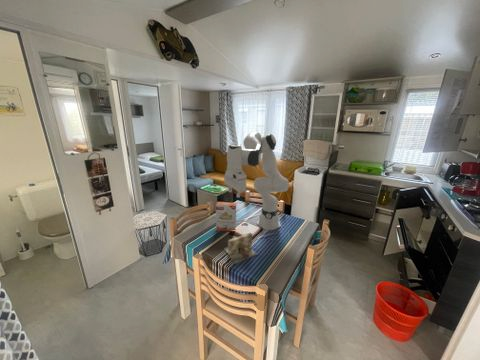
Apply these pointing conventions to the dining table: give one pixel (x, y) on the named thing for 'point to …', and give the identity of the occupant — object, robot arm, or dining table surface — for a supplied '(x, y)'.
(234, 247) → the beige irregular flat piece
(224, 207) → the cracker box
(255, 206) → the dining table surface
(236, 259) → the jig
